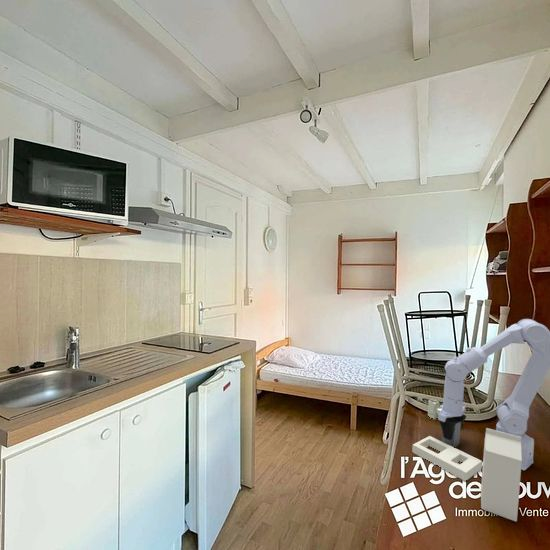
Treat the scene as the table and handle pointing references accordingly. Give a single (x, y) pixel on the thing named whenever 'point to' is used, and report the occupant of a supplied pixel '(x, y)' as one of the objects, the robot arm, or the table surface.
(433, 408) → the valve
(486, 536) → the table surface
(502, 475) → the milk carton
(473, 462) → the socket plate
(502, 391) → the table surface
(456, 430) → the peg
